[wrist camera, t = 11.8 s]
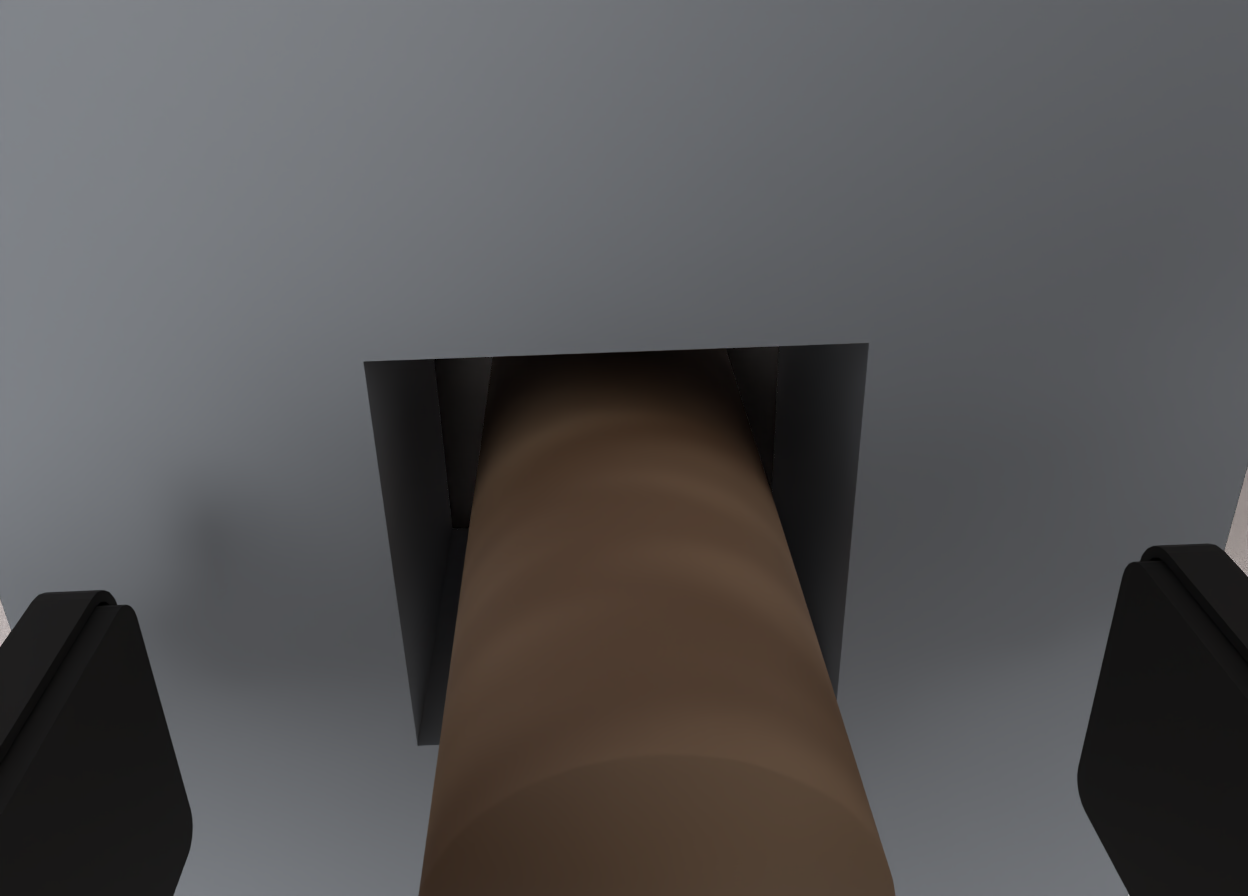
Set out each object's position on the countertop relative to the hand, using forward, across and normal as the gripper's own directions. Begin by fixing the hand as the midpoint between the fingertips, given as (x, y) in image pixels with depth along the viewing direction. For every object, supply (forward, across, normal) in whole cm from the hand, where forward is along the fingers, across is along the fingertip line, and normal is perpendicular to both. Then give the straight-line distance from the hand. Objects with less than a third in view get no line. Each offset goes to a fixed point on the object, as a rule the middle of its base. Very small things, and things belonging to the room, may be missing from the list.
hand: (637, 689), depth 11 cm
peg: (+7, 0, 0) cm, 7 cm away
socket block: (+7, 0, 0) cm, 7 cm away
